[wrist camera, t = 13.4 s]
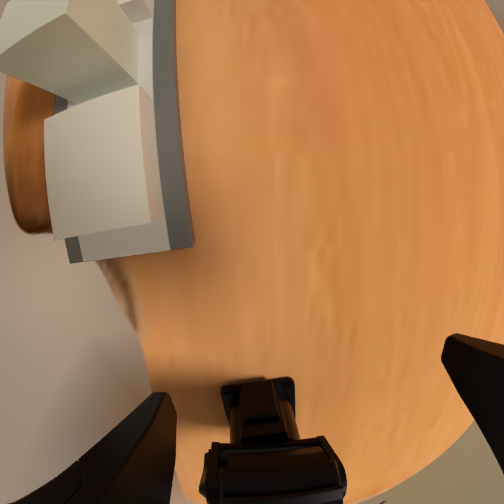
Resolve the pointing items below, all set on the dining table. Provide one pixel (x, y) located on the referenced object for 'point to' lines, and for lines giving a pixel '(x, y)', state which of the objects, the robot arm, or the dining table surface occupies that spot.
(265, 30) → the dining table surface
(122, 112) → the board
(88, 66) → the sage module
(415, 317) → the dining table surface
